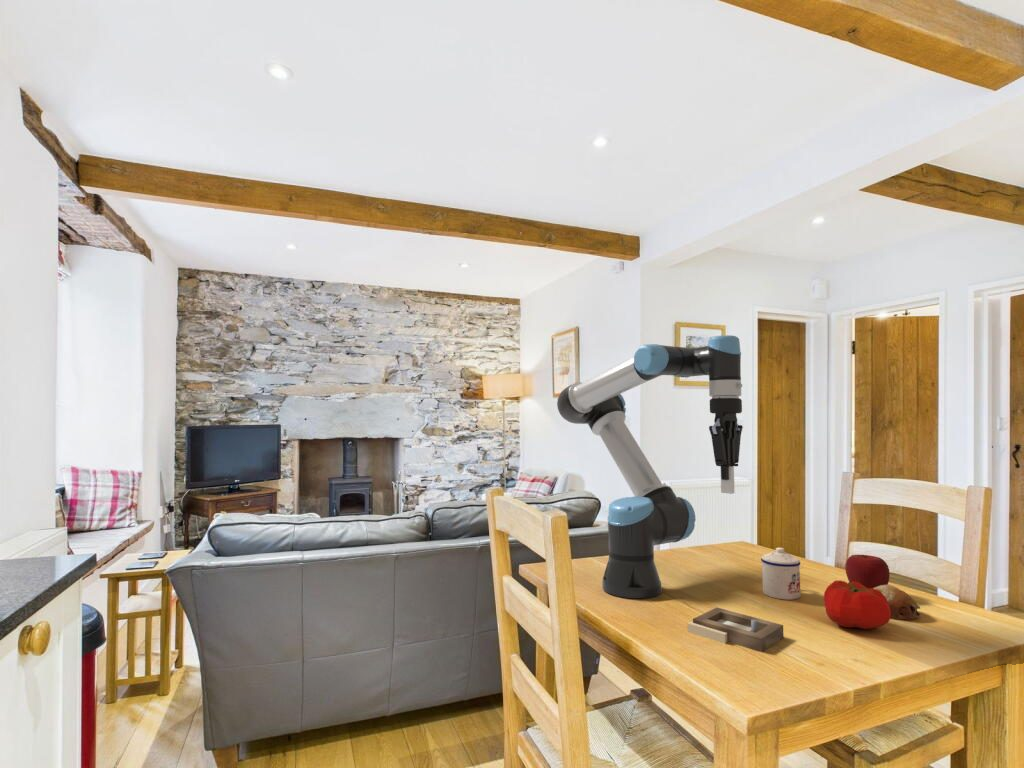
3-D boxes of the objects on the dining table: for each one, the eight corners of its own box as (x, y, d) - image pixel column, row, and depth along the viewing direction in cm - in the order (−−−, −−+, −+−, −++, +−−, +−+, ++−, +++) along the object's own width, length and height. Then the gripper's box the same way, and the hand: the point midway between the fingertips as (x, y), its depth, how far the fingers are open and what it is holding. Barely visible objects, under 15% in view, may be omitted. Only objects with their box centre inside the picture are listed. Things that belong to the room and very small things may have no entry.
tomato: (887, 643, 111) (885, 599, 112) (817, 628, 119) (815, 586, 120) (896, 623, 122) (894, 582, 122) (831, 610, 130) (829, 572, 130)
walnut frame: (693, 630, 114) (692, 618, 114) (717, 618, 121) (716, 607, 121) (761, 651, 104) (761, 638, 104) (783, 637, 111) (783, 625, 111)
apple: (866, 587, 148) (865, 548, 148) (900, 598, 138) (898, 557, 139) (837, 590, 145) (836, 551, 146) (869, 602, 136) (868, 560, 136)
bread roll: (889, 620, 133) (873, 586, 137) (933, 614, 126) (915, 577, 129) (866, 628, 129) (850, 592, 132) (909, 622, 121) (891, 584, 124)
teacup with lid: (796, 603, 135) (795, 554, 136) (757, 595, 141) (755, 548, 142) (808, 591, 144) (806, 545, 145) (770, 584, 150) (769, 540, 151)
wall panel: (661, 634, 116) (661, 609, 117) (701, 615, 127) (700, 593, 127) (768, 669, 100) (767, 641, 100) (803, 644, 111) (802, 619, 111)
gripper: (727, 396, 132) (729, 497, 131) (752, 397, 141) (754, 491, 140) (698, 397, 138) (700, 493, 136) (723, 398, 146) (726, 489, 145)
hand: (727, 492), depth 138 cm, fingers closed
